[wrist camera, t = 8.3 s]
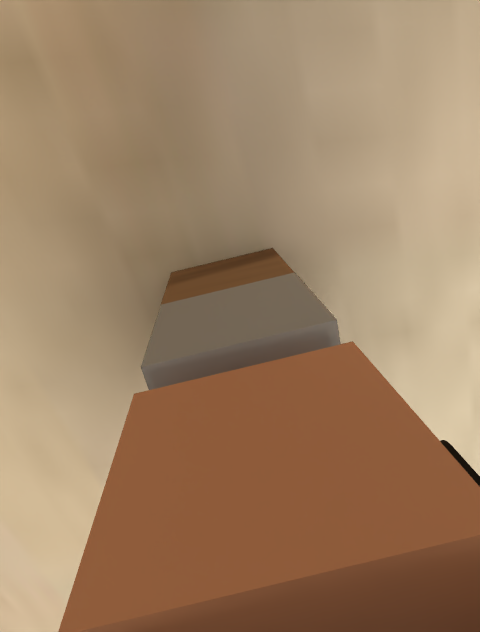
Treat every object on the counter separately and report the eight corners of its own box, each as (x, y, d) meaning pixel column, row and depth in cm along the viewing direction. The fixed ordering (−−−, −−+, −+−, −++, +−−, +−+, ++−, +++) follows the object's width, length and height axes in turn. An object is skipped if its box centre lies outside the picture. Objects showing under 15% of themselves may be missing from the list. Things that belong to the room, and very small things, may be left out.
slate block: (161, 304, 18) (140, 367, 12) (294, 272, 18) (336, 319, 12) (196, 417, 20) (193, 516, 14) (315, 388, 20) (360, 475, 14)
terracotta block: (134, 393, 11) (56, 636, 5) (353, 341, 11) (515, 526, 5) (192, 553, 13) (182, 852, 7) (375, 509, 13) (509, 773, 7)
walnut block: (171, 272, 23) (160, 304, 18) (272, 247, 23) (294, 272, 18) (197, 363, 25) (196, 417, 20) (290, 340, 25) (315, 389, 20)
